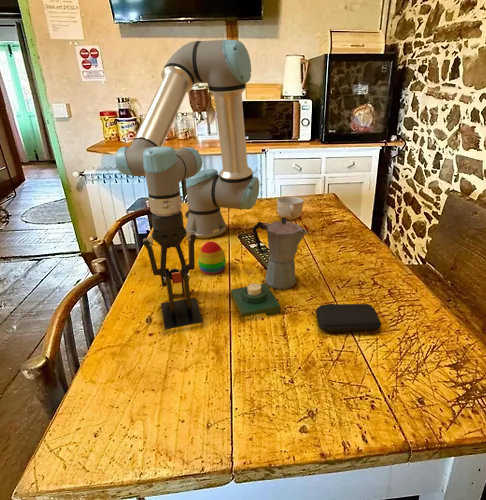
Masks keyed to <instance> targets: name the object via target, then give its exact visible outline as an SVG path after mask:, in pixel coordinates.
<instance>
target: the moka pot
mask: <svg viewBox="0 0 486 500" xmlns="http://www.w3.org/2000/svg"><path fill="white" fill-rule="evenodd" d="M280 218H281V220H280V221H279V220H278V221H273V222H271V223H270V222H261V221H258V222H257V223H256V224H255V225H254V226H253V227H252V228H251V229H252V234H253V238H254V241H255V243H256V247H257V250H258V252H259V253H260V254H267V252H268V256H269V258H268V262H267V269H266V273H265V284H266V285H267V286H268V287H270V288H273V289H277V290H287V289H290V288H292V287H294V286H295V285H296V283H297V279H296V265H295V264H296V262H295V257H296V254H297V252H298V246H299V245H300V243H301V241H302V239H303V238H304V236H305V235H306V234H308V231H307V229H305V228H303V227H301V226H300V225H299V224H298V223H295V222H291V221H290V220H287V218H282V217H280ZM258 229H261V230H262V231H266V235H267V245H268V251H267V249H263V246H262V245H261V240H260V237H259V234H258Z"/></svg>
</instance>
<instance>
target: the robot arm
mask: <svg viewBox="0 0 486 500" xmlns="http://www.w3.org/2000/svg"><path fill="white" fill-rule="evenodd" d="M251 63H252V62H251V58H250V54H249V52H248V49H247V47H246V45H245V44H244V43H243V42H242V41H241V40H238V39H227V38H226V39H213V40H193V41H190V42H187V43H186V44H184V45H182V46H181V47H180V48H178V49H177V50H176V51H174V53H173V54H172V55H171V56H170V57H169V59H168V60H167V62H166V63H165V65H164V67H163V69H162V70H161V79H162V80H161V81H160V84H159V86H158V88H157V90H156V92H155V94H154V96H153V98H152V100H151V102H150V104H149V107H148V108H147V110H146V113H145V115H144V117H143V119H142V121H141V124H140V126H139V127H138V130H137V131H136V134H135V135H134V137H133V140H132V142H131V144H130V146H129V145H126V146H122V147H120V148H118V149H117V151H116V152H115V158H114V164H115V166H116V169H117V170H118V171H119V173H121V174H122V175H126V176H130V177H145V182H146V187H147V196H148V204H149V210H150V213H151V215H150V217H151V218H150V219H151V225H152V232H151V235H150V236H148V237H144V238H142V244H143V246H144V248H145V249H146V251H147V253H148V258H149V262H150V266H151V271H152V274H153V276H159V277H160V279H161V286H162V287H163V288H165V287H167V283H166V282H165V283H164V277H166V276H165V269H167V256H168V255H167V254H168V249H170V248H175V249H176V253H177V256H178V258H179V262H180V265H181V266H186V270H187V273H189V272H190V271H193V270H195V267H196V265H195V264H196V263H195V262H196V261H195V242H196V240H197V239H202V240H203V239H205V240H206V239H212V238H217V237H220V236H222V235H225V233H226V232H227V224H226V222H225V219H224V217H223V214H222V211H221V208H222V209H233V210H240V211H241V210H251V209H253V208H254V207H255V206H256V203H257V201H258V198H259V193H260V180H259V178H258V176H254V172H253V169H252V168H250V166H248V155H247V142H246V130H245V120H244V119H245V117H244V107H243V105H244V104H243V92H244V91H245V90H246V89H247V83H249V82H250V81H251V78H252V64H251ZM196 84H207V88H208V92H209V93H211V94H212V96H213V98H214V106H215V113H216V123H217V129H218V137H219V138H218V140H219V148H220V156H221V163H222V169H221V170H220V171H218V170H217V169H214V168H208V169H202V168H203V158H202V155H201V154H200V152H199V151H198V150H197V149H195V148H194V147H191V146H187V147H180V148H174V147H172V146H164V144H165V142H166V140H167V137H168V136H169V133H170V130H171V128H172V126H173V124H174V121H175V119H176V117H177V114H178V112H179V110H180V108H181V106H182V104H183V101H184V99H185V96H186V94H187V93H189V92H191V91H192V90H193V87H194V86H195V85H196ZM183 181H185V189H186V196H187V198H185V196H183V195H181V191H180V183H181V182H183ZM182 199H183V200H184V201H185V202H186V203H187V204H188V205H187V207H188V210H187V211H186V213H184V214H185V215H184V216H185V217H186V218H187V220H186V225H185V223H184V216H183V211H182ZM184 225H185V226H186V227H185V226H184ZM185 238H186V240H187V244H188V246H187V247H188V249H187V250H188V252H187V253H188V264H187V262H186V260H185V256H184V253H183V250H182V247H181V244H182V242H183V241H184V239H185ZM154 241H155V242H156V243H157V244H158V245H159V246H160V265H159V268H158V264H157V261H156V256H155V253H154V249H153V245H154ZM179 271H180V272H181V276H182V269H179ZM188 281H189V282H190V279H188ZM181 292H182V295H183V297H185V294H184V286H183V277H182V283H181Z"/></svg>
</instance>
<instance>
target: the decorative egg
mask: <svg viewBox="0 0 486 500" xmlns="http://www.w3.org/2000/svg"><path fill="white" fill-rule="evenodd" d="M197 257H198V258H197V263H198V267H199V269H200V271H201V272H202V273H203V274H206V275H217V274H220V273H222V272H223V271H224V270H225V267H226V263H227V262H226V260H227V259H226V255H225V252H224V250H223V249H222V247H221V245H219V243H217V242H215V241H212V240H210V241H207V242H205V243H204V244H203V245H202V246H201V248H200V250H199V252H198V256H197Z"/></svg>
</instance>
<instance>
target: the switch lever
mask: <svg viewBox="0 0 486 500" xmlns="http://www.w3.org/2000/svg"><path fill="white" fill-rule="evenodd" d="M169 272H170V277H171V283H172V285H176V284H180V283H182V276H181V272H180V269H178V268H175V267H174V268H171V269H169Z"/></svg>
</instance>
